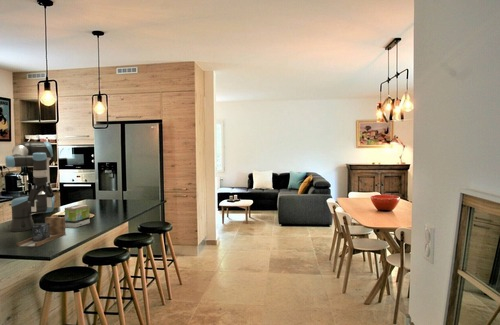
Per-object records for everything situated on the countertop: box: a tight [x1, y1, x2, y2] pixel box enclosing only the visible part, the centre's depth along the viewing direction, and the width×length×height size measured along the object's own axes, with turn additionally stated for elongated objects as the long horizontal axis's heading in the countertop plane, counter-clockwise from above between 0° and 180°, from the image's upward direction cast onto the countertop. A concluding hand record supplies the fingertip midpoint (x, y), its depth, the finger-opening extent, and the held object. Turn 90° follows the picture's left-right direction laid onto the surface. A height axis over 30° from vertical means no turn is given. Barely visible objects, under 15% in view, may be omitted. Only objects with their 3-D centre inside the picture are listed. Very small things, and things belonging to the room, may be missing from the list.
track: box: [16, 216, 66, 248], centre depth 205 cm, size 13×26×12 cm, turn 175°
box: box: [31, 222, 50, 241], centre depth 204 cm, size 8×6×11 cm
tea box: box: [64, 204, 91, 229], centre depth 243 cm, size 15×10×15 cm
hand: (41, 209), depth 207 cm, fingers open, 13 cm apart
